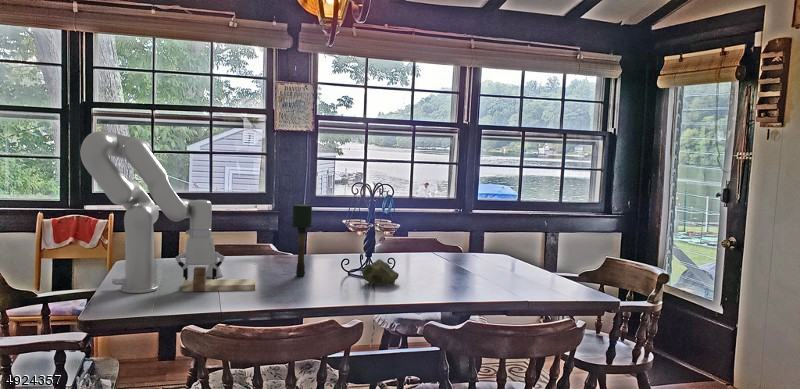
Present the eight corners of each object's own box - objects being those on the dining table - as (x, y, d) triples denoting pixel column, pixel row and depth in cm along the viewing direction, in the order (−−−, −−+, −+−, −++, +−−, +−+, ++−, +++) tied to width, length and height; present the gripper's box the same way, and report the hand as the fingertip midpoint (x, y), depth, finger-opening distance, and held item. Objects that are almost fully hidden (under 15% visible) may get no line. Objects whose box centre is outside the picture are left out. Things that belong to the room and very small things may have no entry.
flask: (220, 278, 243) (220, 254, 242) (202, 278, 243) (202, 253, 242) (225, 275, 250) (225, 251, 250) (207, 274, 250) (208, 250, 249)
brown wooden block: (193, 291, 219) (193, 270, 219) (196, 282, 233) (196, 263, 232) (204, 291, 220) (204, 270, 220) (206, 282, 234) (207, 263, 233)
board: (181, 291, 220) (181, 285, 220) (184, 285, 230) (184, 279, 229) (255, 290, 227) (255, 284, 226) (254, 284, 236) (254, 278, 236)
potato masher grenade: (314, 275, 257) (316, 205, 254) (303, 278, 249) (305, 206, 247) (297, 272, 260) (299, 203, 258) (286, 276, 252) (288, 205, 250)
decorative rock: (407, 284, 247) (408, 260, 246) (384, 290, 234) (385, 265, 233) (378, 278, 256) (379, 255, 255) (354, 284, 242) (355, 260, 242)
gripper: (174, 234, 217) (174, 281, 218) (224, 235, 221) (223, 280, 222) (176, 231, 224) (176, 277, 225) (225, 232, 228) (224, 276, 230)
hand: (200, 279), depth 224 cm, fingers open, 9 cm apart
